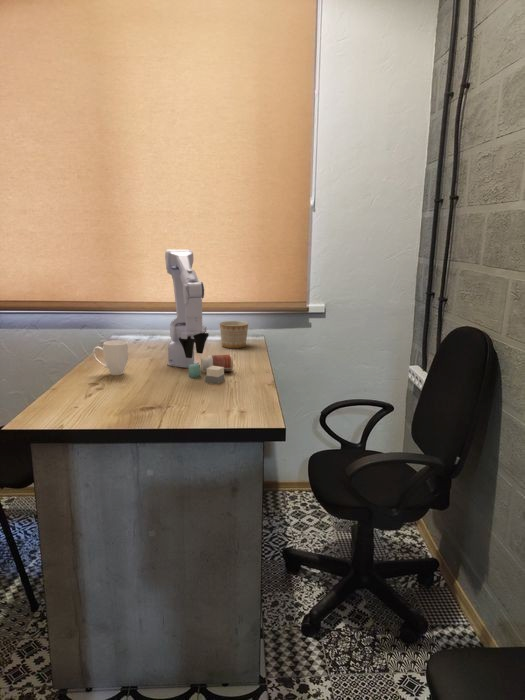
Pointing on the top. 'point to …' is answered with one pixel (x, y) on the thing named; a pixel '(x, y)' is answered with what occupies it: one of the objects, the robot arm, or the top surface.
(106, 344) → the mug
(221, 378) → the tower base block
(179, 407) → the top surface
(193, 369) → the teal cylinder
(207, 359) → the pill bottle
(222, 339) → the planter
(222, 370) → the tower top block
